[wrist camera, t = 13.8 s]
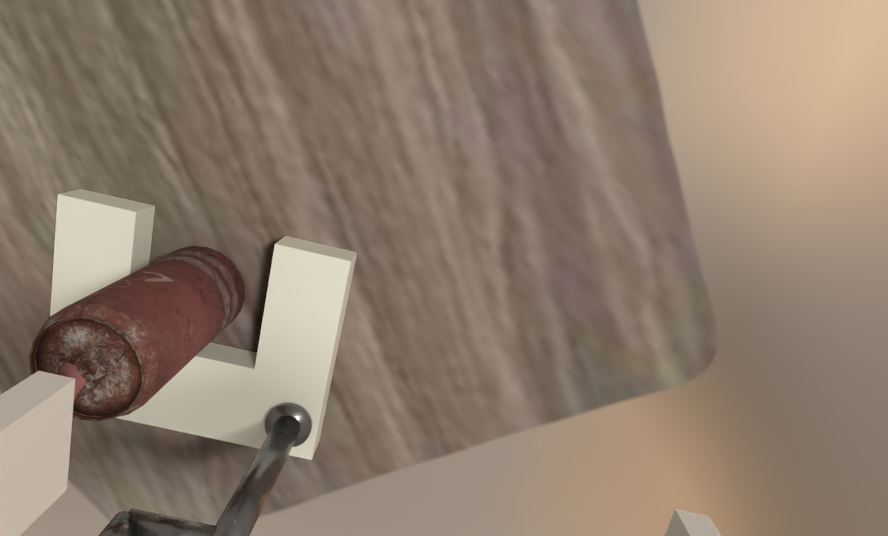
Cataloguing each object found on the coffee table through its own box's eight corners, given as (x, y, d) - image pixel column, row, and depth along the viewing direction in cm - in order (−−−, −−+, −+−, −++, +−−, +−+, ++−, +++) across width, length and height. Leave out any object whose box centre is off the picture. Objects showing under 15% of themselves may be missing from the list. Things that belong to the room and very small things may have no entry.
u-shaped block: (81, 189, 40) (57, 194, 38) (356, 252, 41) (350, 261, 39) (67, 386, 44) (44, 402, 42) (319, 441, 45) (311, 459, 43)
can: (149, 310, 43) (6, 405, 29) (175, 230, 41) (37, 290, 27) (230, 343, 43) (127, 450, 30) (259, 265, 41) (163, 340, 28)
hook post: (211, 385, 41) (92, 520, 28) (315, 408, 41) (247, 552, 28) (206, 425, 42) (87, 576, 28) (308, 447, 42) (238, 607, 29)
